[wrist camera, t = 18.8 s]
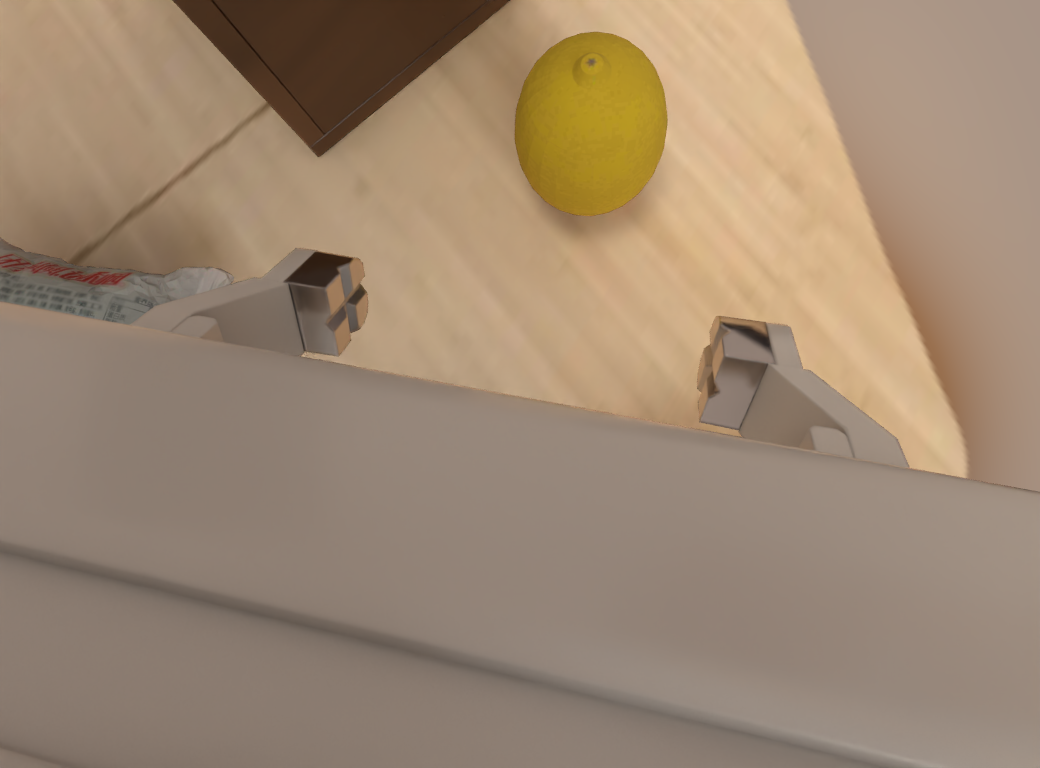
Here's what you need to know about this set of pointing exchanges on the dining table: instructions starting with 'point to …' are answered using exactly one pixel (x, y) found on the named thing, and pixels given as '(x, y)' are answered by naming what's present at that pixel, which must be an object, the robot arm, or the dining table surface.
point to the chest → (333, 52)
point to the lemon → (590, 123)
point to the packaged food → (96, 286)
